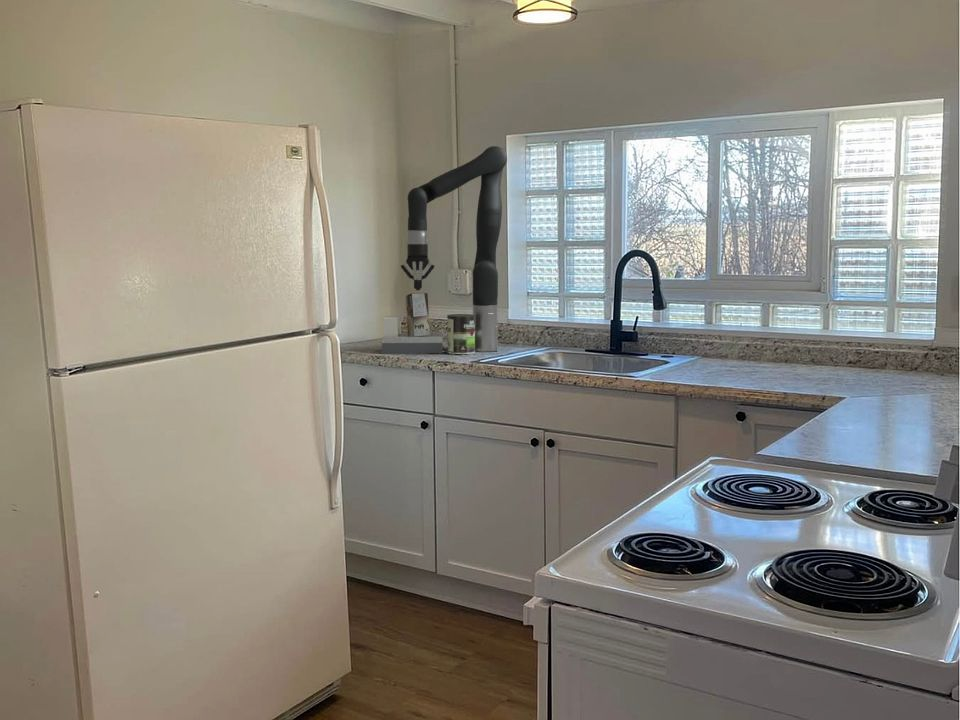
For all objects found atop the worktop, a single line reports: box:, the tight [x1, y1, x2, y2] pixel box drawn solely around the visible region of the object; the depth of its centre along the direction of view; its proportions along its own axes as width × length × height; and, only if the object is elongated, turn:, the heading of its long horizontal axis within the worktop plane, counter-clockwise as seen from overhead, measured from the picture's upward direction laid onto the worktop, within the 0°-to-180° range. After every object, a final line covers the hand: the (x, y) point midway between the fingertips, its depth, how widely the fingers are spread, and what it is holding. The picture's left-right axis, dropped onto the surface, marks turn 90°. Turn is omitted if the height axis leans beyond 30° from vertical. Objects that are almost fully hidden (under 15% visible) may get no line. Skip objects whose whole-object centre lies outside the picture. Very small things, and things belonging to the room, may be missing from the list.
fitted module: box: [383, 315, 400, 337], centre depth 337 cm, size 5×9×8 cm, turn 2°
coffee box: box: [405, 292, 431, 337], centre depth 338 cm, size 9×6×16 cm
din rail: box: [381, 332, 444, 344], centre depth 338 cm, size 22×13×2 cm, turn 92°
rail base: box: [381, 339, 444, 355], centre depth 338 cm, size 22×14×4 cm, turn 92°
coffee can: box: [446, 313, 476, 356], centre depth 333 cm, size 10×10×14 cm
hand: (417, 290), depth 335 cm, fingers closed
